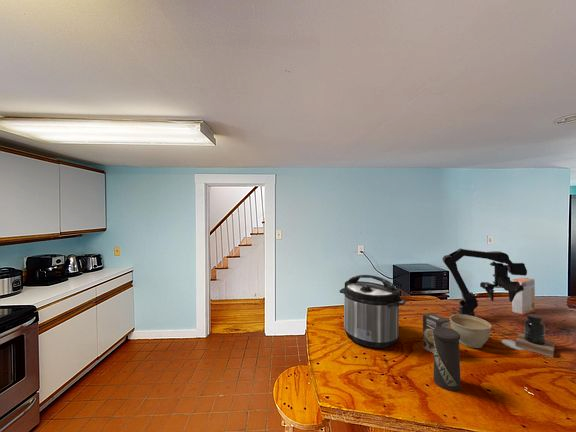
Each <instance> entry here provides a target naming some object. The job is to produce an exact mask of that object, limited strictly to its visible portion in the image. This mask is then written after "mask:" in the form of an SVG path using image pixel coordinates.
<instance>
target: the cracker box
mask: <svg viewBox="0 0 576 432" xmlns="http://www.w3.org/2000/svg"><path fill="white" fill-rule="evenodd" d="M510 281H513V282H514V281H517V282H519V283H520V285H522V286H523V287H524V291H521V292H518V293H517V294H516V295H515V297H514V299H513V301H512V302H511V312H512V313H513V314H514V313H515V314H518V315H522V316H524V315H528V314H532V313H535V312H536V293H535V292H536V289H535V278H529V277H520V278H515V279H510Z"/></svg>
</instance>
